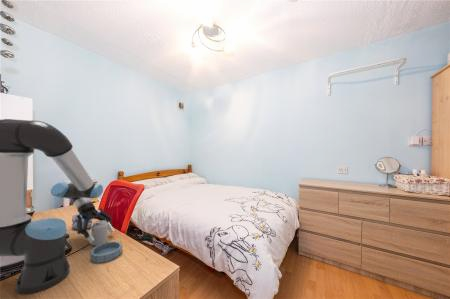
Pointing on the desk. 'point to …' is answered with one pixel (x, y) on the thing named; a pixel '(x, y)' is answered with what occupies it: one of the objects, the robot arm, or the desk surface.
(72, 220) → the mineral
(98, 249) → the bowl
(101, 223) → the can
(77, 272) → the desk surface
